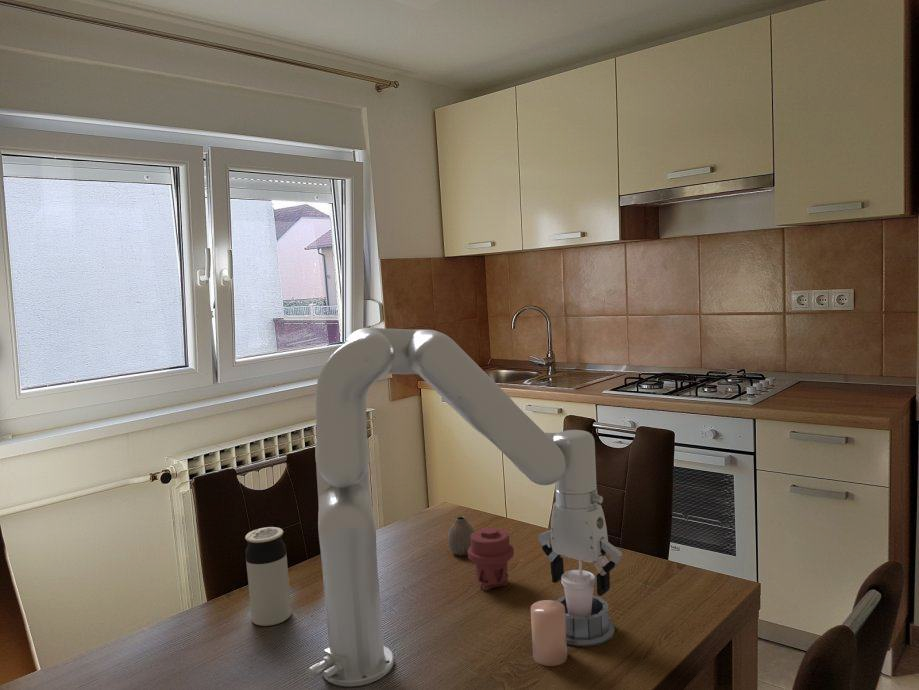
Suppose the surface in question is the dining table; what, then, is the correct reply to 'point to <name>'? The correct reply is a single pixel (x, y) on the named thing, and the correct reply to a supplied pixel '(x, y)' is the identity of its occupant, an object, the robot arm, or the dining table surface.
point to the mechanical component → (491, 556)
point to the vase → (460, 536)
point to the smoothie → (578, 591)
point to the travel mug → (267, 576)
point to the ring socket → (589, 625)
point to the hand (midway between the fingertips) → (580, 586)
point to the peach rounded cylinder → (549, 632)
